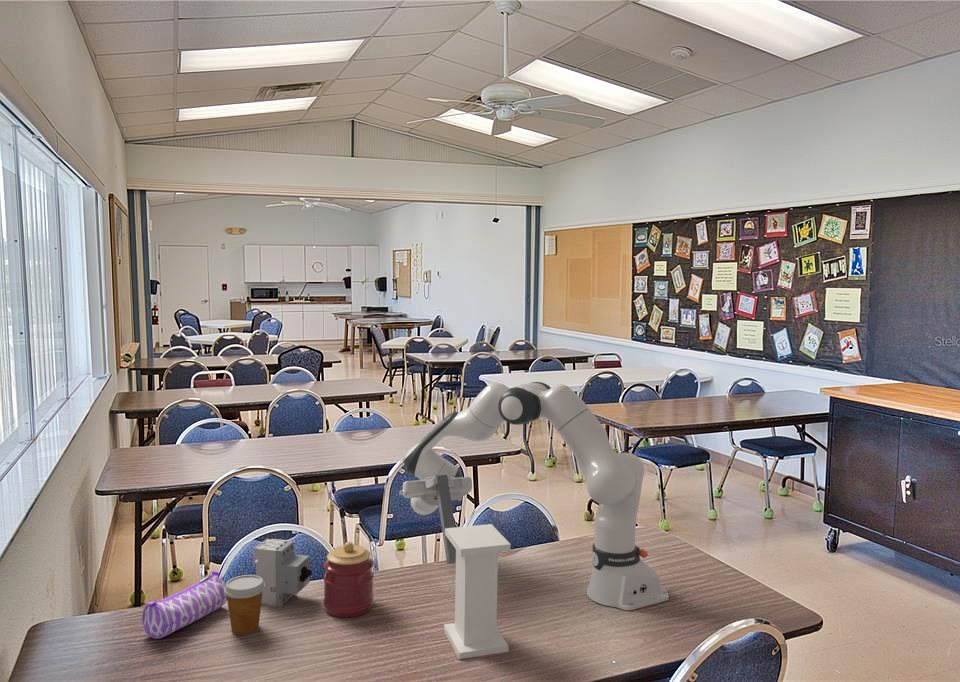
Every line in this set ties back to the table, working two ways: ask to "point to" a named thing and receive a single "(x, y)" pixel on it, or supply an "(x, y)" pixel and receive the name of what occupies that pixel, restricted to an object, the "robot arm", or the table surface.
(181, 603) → the pencil case
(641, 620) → the table surface
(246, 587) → the disposable coffee cup
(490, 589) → the stand
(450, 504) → the bar
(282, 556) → the circuit breaker
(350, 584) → the canister
